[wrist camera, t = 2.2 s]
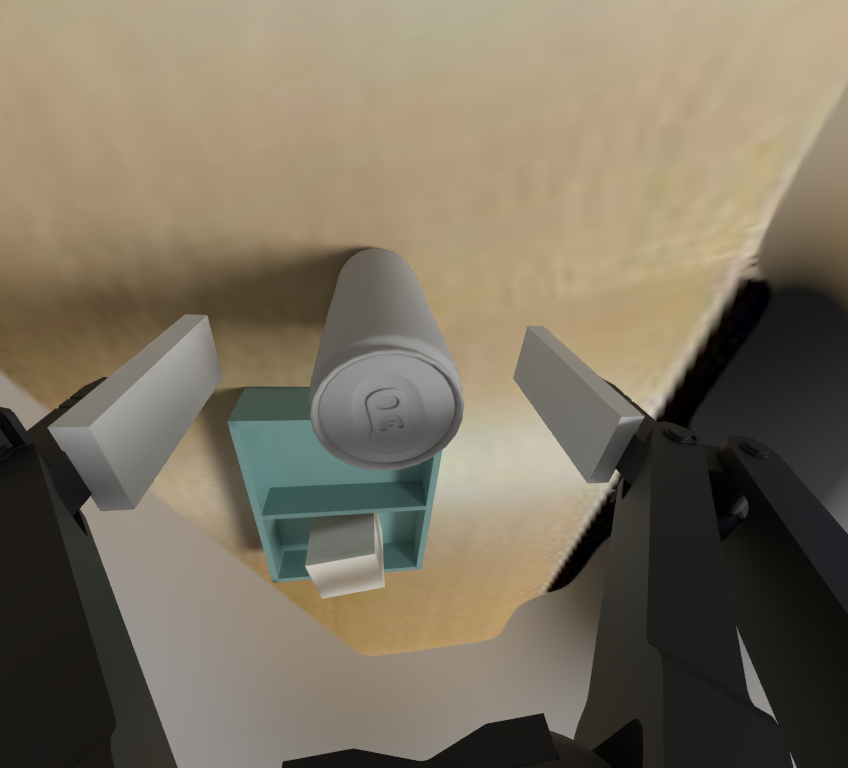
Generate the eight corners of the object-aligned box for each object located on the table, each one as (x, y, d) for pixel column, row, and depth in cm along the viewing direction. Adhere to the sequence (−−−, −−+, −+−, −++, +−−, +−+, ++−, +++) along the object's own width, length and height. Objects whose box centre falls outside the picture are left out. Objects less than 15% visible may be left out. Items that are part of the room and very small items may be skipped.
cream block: (313, 506, 28) (305, 566, 24) (373, 496, 29) (374, 553, 24) (327, 540, 31) (322, 598, 27) (382, 530, 31) (384, 586, 27)
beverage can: (346, 332, 21) (329, 485, 11) (326, 252, 18) (279, 361, 8) (422, 320, 21) (470, 459, 12) (413, 240, 19) (466, 332, 9)
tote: (245, 387, 22) (227, 421, 19) (438, 387, 24) (447, 418, 22) (281, 544, 32) (272, 582, 29) (416, 534, 34) (421, 568, 31)
